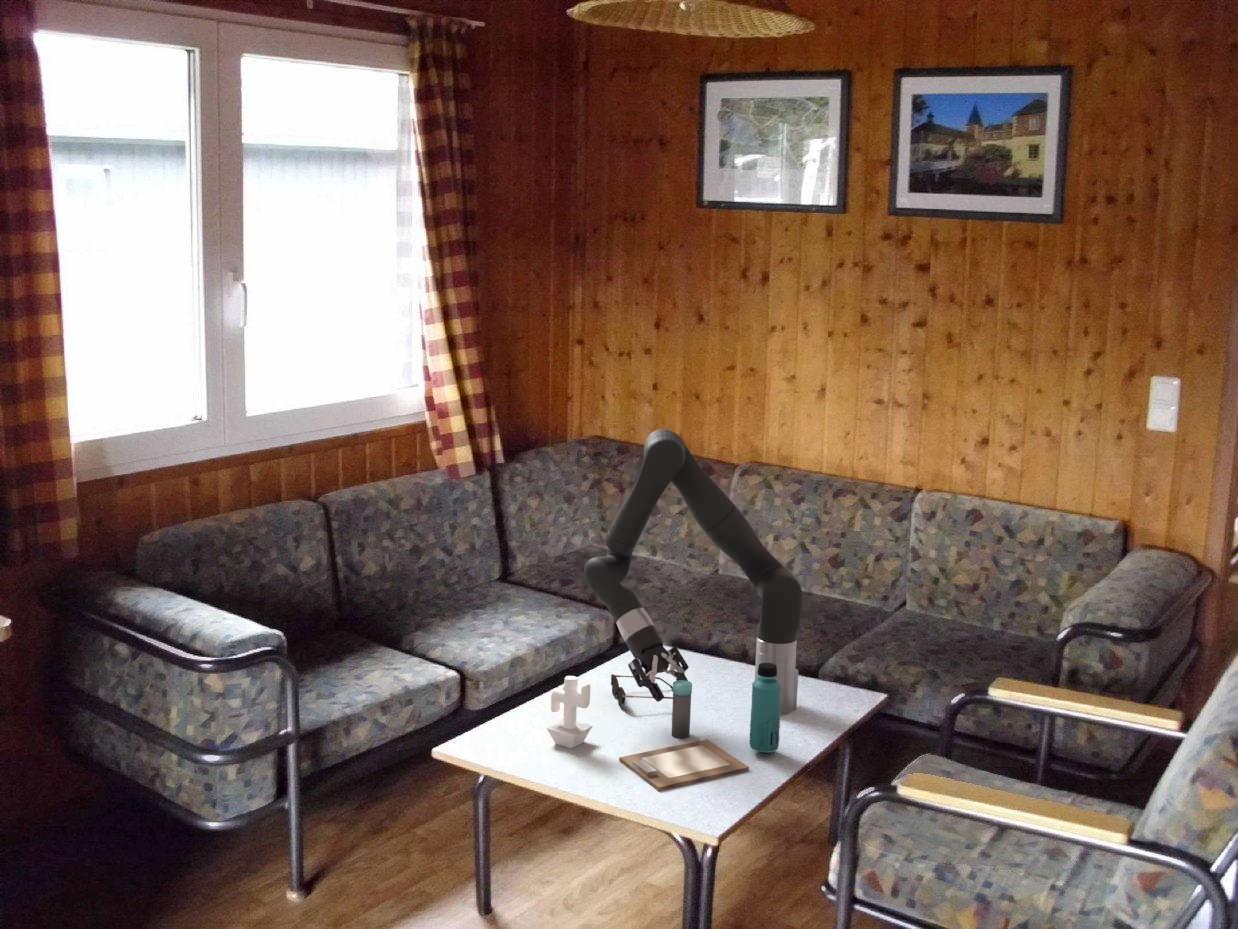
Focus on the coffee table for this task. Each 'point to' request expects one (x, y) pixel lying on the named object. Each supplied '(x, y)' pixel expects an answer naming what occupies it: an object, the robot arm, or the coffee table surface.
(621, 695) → the sunglasses
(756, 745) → the beverage bottle
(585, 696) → the figurine
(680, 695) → the grey capped container
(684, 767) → the clipboard
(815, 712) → the coffee table surface
